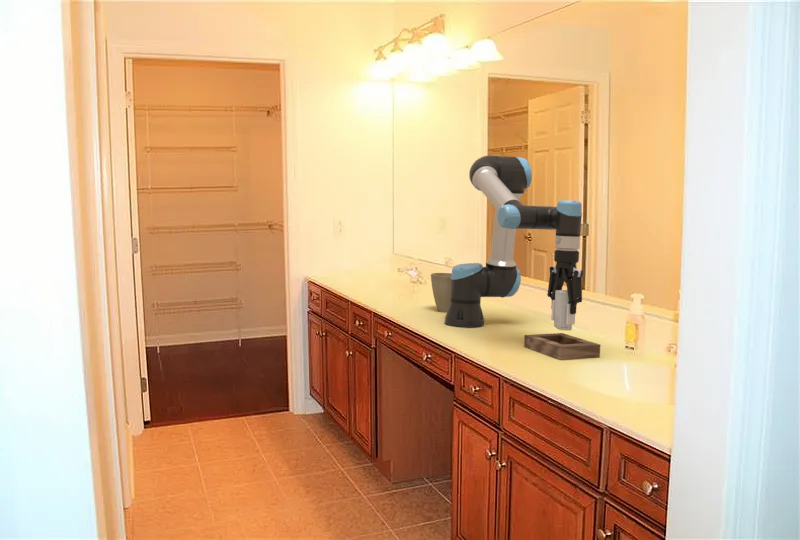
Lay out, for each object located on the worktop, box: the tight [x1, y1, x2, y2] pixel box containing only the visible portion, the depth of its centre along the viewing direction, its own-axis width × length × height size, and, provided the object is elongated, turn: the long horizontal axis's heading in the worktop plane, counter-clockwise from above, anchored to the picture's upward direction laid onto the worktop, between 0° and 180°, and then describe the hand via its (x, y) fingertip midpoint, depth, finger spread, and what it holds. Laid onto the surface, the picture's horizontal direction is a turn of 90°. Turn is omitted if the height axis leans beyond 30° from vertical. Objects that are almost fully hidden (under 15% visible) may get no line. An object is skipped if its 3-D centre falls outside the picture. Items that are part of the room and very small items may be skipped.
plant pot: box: [430, 272, 452, 313], centre depth 285 cm, size 15×15×16 cm
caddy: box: [523, 332, 601, 361], centre depth 210 cm, size 19×15×4 cm
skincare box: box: [553, 289, 573, 331], centre depth 209 cm, size 6×4×12 cm
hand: (562, 321), depth 209 cm, fingers closed on skincare box, 7 cm apart
